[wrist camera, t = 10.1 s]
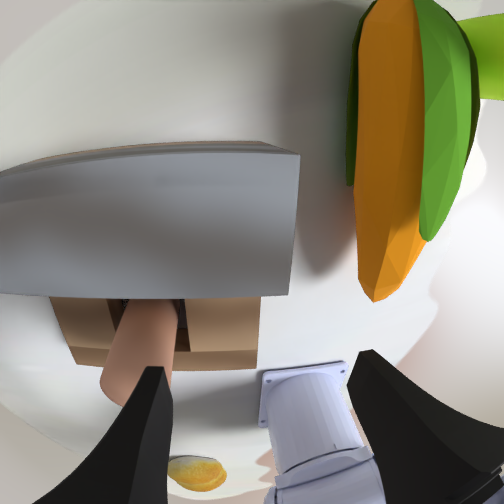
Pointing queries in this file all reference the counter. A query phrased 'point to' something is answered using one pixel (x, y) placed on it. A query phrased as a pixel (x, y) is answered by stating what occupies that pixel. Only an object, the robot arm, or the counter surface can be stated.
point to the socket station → (154, 241)
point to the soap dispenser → (488, 52)
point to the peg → (140, 345)
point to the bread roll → (197, 473)
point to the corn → (406, 132)
